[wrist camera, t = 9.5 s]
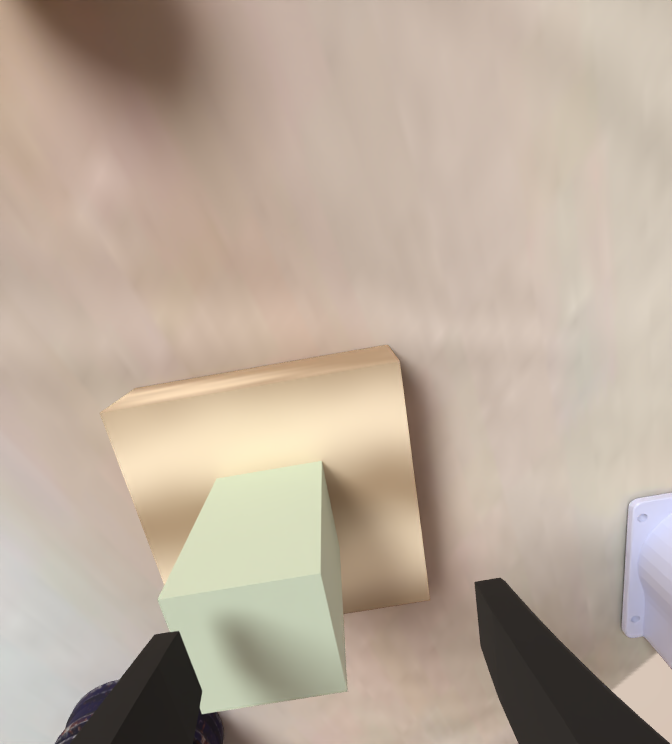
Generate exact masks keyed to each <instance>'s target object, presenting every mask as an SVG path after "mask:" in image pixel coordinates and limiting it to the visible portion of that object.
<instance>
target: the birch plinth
mask: <svg viewBox="0 0 672 744" xmlns="http://www.w3.org/2000/svg"><path fill="white" fill-rule="evenodd" d="M100 415H101V418H102V420H103V423H104V426H105V428H106V431H107V434H108V436H109V439H110V442H111V444H112V447H113V450H114V452H115V455H116V458H117V460H118V463H119V466H120V468H121V471H122V474H123V476H124V479H125V482H126V484H127V487H128V490H129V492H130V495H131V498H132V500H133V503H134V506H135V508H136V511H137V513H138V516H139V519H140V521H141V524H142V527H143V529H144V532H145V535H146V537H147V540H148V543H149V545H150V548H151V551H152V553H153V556H154V559H155V561H156V564H157V567H158V569H159V572H160V575H161V577H162V580H163V583H164V585H165V583H166V581H167V579H168V577H169V575H170V573H171V571H172V569H173V567H174V565H175V563H176V561H177V559H178V557H179V555H180V553H181V551H182V549H183V546H184V544H185V542H186V540H187V538H188V536H189V534H190V532H191V530H192V528H193V526H194V524H195V522H196V520H197V518H198V516H199V514H200V512H201V509H202V507H203V505H204V503H205V501H206V499H207V497H208V495H209V493H210V491H211V489H212V487H213V485H214V483H215V481H216V479H217V478H223V477H229V476H235V475H241V474H247V473H253V472H258V471H264V470H270V469H276V468H282V467H288V466H294V465H300V464H306V463H312V462H318V461H322V464H323V469H324V474H325V479H326V484H327V489H328V494H329V498H330V503H331V508H332V513H333V518H334V523H335V528H336V533H337V537H338V542H339V547H340V563H341V581H342V600H343V614H347V613H353V612H359V611H366V610H372V609H378V608H384V607H391V606H397V605H403V604H409V603H416V602H422V601H428V600H430V595H429V587H428V579H427V571H426V563H425V555H424V548H423V540H422V532H421V524H420V516H419V508H418V501H417V493H416V485H415V477H414V469H413V461H412V453H411V446H410V438H409V430H408V422H407V414H406V406H405V399H404V391H403V383H402V375H401V367H400V361H399V360H398V358H397V357H396V355H395V354H394V353H393V351H392V350H391V349H390V347H389V346H388V345H382V346H377V347H371V348H365V349H359V350H354V351H348V352H342V353H336V354H331V355H325V356H319V357H313V358H307V359H302V360H296V361H290V362H284V363H279V364H273V365H267V366H261V367H256V368H250V369H244V370H238V371H232V372H227V373H221V374H215V375H209V376H204V377H198V378H192V379H186V380H181V381H175V382H169V383H163V384H157V385H152V386H146V387H140V388H135V389H134V390H132V391H131V392H129V393H128V394H126V395H125V396H124V397H122V398H121V399H119V400H118V401H116V402H115V403H113V404H112V405H111V406H109V407H108V408H106V409H105V410H103V411H102V412H100Z"/></svg>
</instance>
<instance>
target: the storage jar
mask: <svg viewBox="0 0 672 744" xmlns="http://www.w3.org/2000/svg"><path fill="white" fill-rule="evenodd" d="M118 681H119V680H116V681H112V682H108V683H106V684H103V685H101V686H99V687H97V688H95V689H93V690H92V691H90V692H89V693H87V694H86V695H85V696H84V697H83V698H82V699H81V700H80V701H79V702H78V704H77V705H76V706H75V708H74V710H73V712H72V714H71V715H70V717H69V719H68V721H67V724H66V728H65V730H64V731H63V732H62V734H61V735H60V736H59V737H58V739H57V741H56V743H55V744H70V743H71V741H72V740H73V739H74V738H75V736H76V735H77V734H78V732H79V731H80V730H81V729H82V727H83V726H84V725H85V724H86V722H87V721H88V720H89V719H90V717H91V716H92V715H93V713H94V712H95V711H96V710H97V708H98V707H99V706H100V705H101V703H102V702H103V701H104V699H105V698H106V697H107V696H108V694H109V693H110V692H111V690H112V689H113V688H114V686H115V685H116V684H117V683H118ZM223 737H224V732H223V725H222V722H221V719H220V717H219V715H218V713H217V712H213V713H206V714H202V713H201V710H200V708H199V714H198V720H197V725H196V730H195V735H194V740H193V744H223Z"/></svg>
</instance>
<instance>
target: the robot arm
mask: <svg viewBox="0 0 672 744" xmlns="http://www.w3.org/2000/svg"><path fill="white" fill-rule="evenodd" d="M639 515H640V516H639ZM638 516H639V517H638ZM475 591H476V602H477V612H478V623H479V634H480V644H481V649H482V651H483V654H484V657H485V660H486V663H487V666H488V669H489V672H490V675H491V678H492V680H493V683H494V686H495V689H496V692H497V695H498V697H499V700H500V702H501V705H502V707H503V709H504V711H505V714H506V716H507V718H508V720H509V723H510V725H511V727H512V729H513V732H514V734H515V736H516V738H517V741H518V743H519V744H670V743H669V742H668V741H667V740H665V739H664V738H663V737H662V736H661V735H660V734H659V733H657V732H656V731H655V730H654V729H653V728H652V727H651V726H649V725H648V724H647V723H646V722H645V721H644V720H643V719H642V718H640V717H639V716H638V715H637V714H636V713H635V712H634V711H633V710H632V709H631V708H629V707H628V706H627V705H626V704H625V703H624V702H623V701H622V700H621V699H620V698H618V697H617V696H616V695H615V694H614V693H613V692H612V691H611V690H610V689H609V688H608V687H607V686H606V685H605V684H604V683H603V682H601V681H600V680H599V679H598V678H597V677H596V676H595V675H594V674H593V673H592V672H591V671H590V670H589V669H588V668H587V667H586V666H585V665H584V664H583V663H582V662H581V661H580V660H579V659H578V658H577V657H576V656H575V655H574V654H573V653H572V652H571V651H570V650H569V649H568V648H567V647H566V646H565V645H564V644H563V643H562V642H561V641H560V640H559V639H558V638H557V637H556V636H555V635H554V634H553V633H552V632H551V631H550V630H549V629H548V628H547V627H546V626H545V625H544V624H543V623H542V622H541V620H540V619H539V618H538V617H537V616H536V615H535V614H534V613H533V612H532V611H531V610H530V609H529V608H528V606H527V605H526V604H525V603H524V602H523V601H522V600H521V599H520V598H519V596H518V595H517V594H516V593H515V592H514V591H513V590H512V589H511V587H510V586H509V585H508V584H507V583H506V582H505V581H504V580H503V579H501V578H496V579H490V580H484V581H478V582H475ZM622 631H623V632H624V633H625V635H626V636H627V637H630V638H636V637H642V636H644V637H645V638H646V639H647V640H648V642H649V643H650V644H651V645H652V646H653V648H654V649H655V650H656V651H657V652H658V653H659V655H660V656H661V657H662V658H663V659H664V661H665V662H666V663H667V664H668V665H669V666H670V668H671V669H672V493H666V494H660V495H654V496H648V497H642V498H637V499H634V500H633V501H631V503H630V504H629V507H628V523H627V541H626V558H625V576H624V594H623V611H622ZM201 696H202V689H201V686H200V683H199V681H198V678H197V676H196V673H195V670H194V668H193V665H192V663H191V660H190V658H189V655H188V652H187V650H186V647H185V645H184V642H183V640H182V637H181V634H180V632H179V631H174V632H168V633H162V634H156V635H154V636H153V637H152V639H151V640H150V641H149V642H148V644H147V645H146V646H145V648H144V649H143V650H142V651H141V653H140V654H139V655H138V657H137V658H136V659H135V660H134V662H133V663H132V664H131V666H130V667H129V668H128V670H127V671H126V672H125V673H124V675H123V676H122V677H121V679H120V680H119V681H118V683H117V684H116V685H115V686H114V688H113V689H112V690H111V692H110V693H109V694H108V696H107V697H106V698H105V699H104V701H103V702H102V703H101V705H100V706H99V707H98V708H97V710H96V711H95V712H94V713H93V715H92V716H91V717H90V719H89V720H88V721H87V722H86V724H85V725H84V726H83V727H82V729H81V730H80V731H79V732H78V734H77V735H76V736H75V738H74V739H73V740H72V741H71V743H70V744H193V740H194V735H195V730H196V725H197V720H198V714H199V708H200V702H201Z"/></svg>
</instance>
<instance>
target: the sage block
mask: <svg viewBox="0 0 672 744" xmlns="http://www.w3.org/2000/svg"><path fill="white" fill-rule="evenodd" d="M158 602H159V605H160V608H161V610H162V613H163V615H164V618H165V620H166V623H167V626H168V628H169V631H170V632H174V631H179V632H180V634H181V637H182V640H183V642H184V645H185V647H186V650H187V652H188V655H189V658H190V660H191V663H192V665H193V668H194V670H195V673H196V676H197V678H198V681H199V683H200V686H201V689H202V696H201V702H200V710H201V713H202V714H206V713H213V712H219V711H226V710H232V709H238V708H245V707H251V706H258V705H264V704H270V703H277V702H283V701H289V700H296V699H302V698H309V697H315V696H321V695H328V694H334V693H341V692H347V674H346V656H345V637H344V619H343V600H342V581H341V563H340V547H339V542H338V537H337V533H336V528H335V523H334V518H333V513H332V508H331V503H330V498H329V494H328V489H327V484H326V479H325V474H324V469H323V464H322V461H318V462H312V463H306V464H300V465H294V466H288V467H282V468H276V469H270V470H264V471H258V472H253V473H247V474H241V475H235V476H229V477H223V478H217V479H216V481H215V483H214V485H213V487H212V489H211V491H210V493H209V495H208V497H207V499H206V501H205V503H204V505H203V507H202V509H201V512H200V514H199V516H198V518H197V520H196V522H195V524H194V526H193V528H192V530H191V532H190V534H189V536H188V538H187V540H186V542H185V544H184V546H183V549H182V551H181V553H180V555H179V557H178V559H177V561H176V563H175V565H174V567H173V569H172V571H171V573H170V575H169V577H168V579H167V581H166V583H165V585H164V588H163V590H162V592H161V594H160V596H159V598H158Z"/></svg>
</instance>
